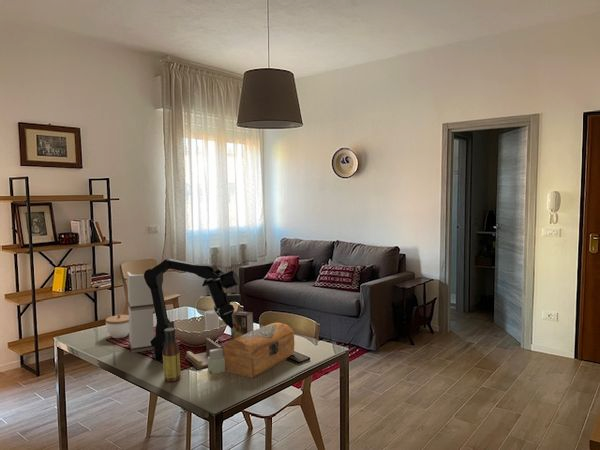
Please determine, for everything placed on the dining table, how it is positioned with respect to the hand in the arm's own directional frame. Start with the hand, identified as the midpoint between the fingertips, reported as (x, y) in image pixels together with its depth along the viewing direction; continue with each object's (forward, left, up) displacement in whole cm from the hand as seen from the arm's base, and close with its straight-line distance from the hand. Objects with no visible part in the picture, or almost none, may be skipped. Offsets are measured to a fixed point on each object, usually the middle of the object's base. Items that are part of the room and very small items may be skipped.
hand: (230, 326), depth 193 cm
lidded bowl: (-31, +63, -15) cm, 72 cm away
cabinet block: (-10, -6, -15) cm, 19 cm away
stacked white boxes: (-26, +39, -15) cm, 49 cm away
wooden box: (+9, -10, -15) cm, 20 cm away
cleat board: (-9, +6, -15) cm, 18 cm away
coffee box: (+12, +12, -15) cm, 22 cm away
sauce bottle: (-27, -5, -15) cm, 31 cm away
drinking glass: (+3, +26, -15) cm, 30 cm away
